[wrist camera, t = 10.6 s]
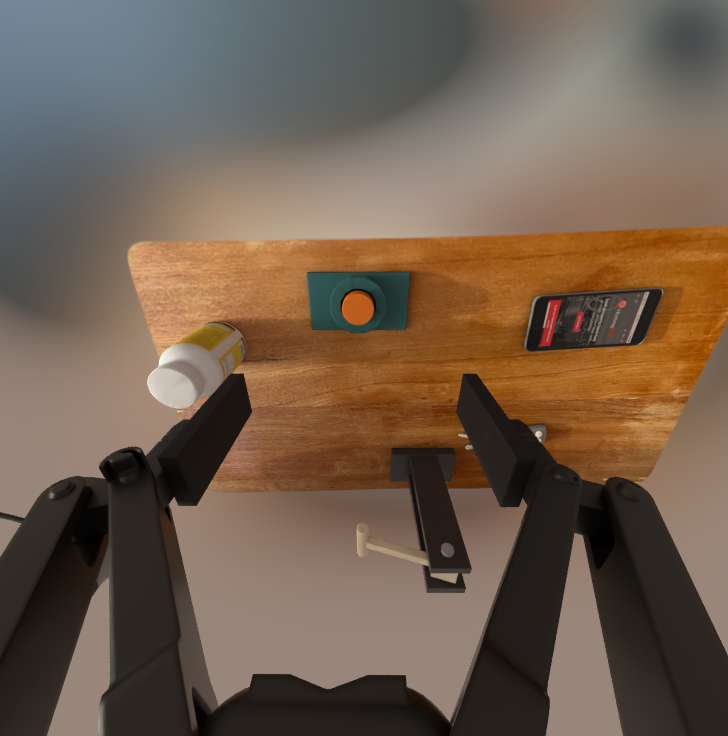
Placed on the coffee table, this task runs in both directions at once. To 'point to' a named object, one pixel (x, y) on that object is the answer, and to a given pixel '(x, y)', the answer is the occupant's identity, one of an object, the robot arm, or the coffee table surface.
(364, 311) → the button
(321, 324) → the teal button base
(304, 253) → the coffee table surface
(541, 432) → the key chain
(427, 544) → the lever switch stand
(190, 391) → the pill bottle
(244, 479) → the coffee table surface
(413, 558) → the switch lever
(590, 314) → the smartphone
